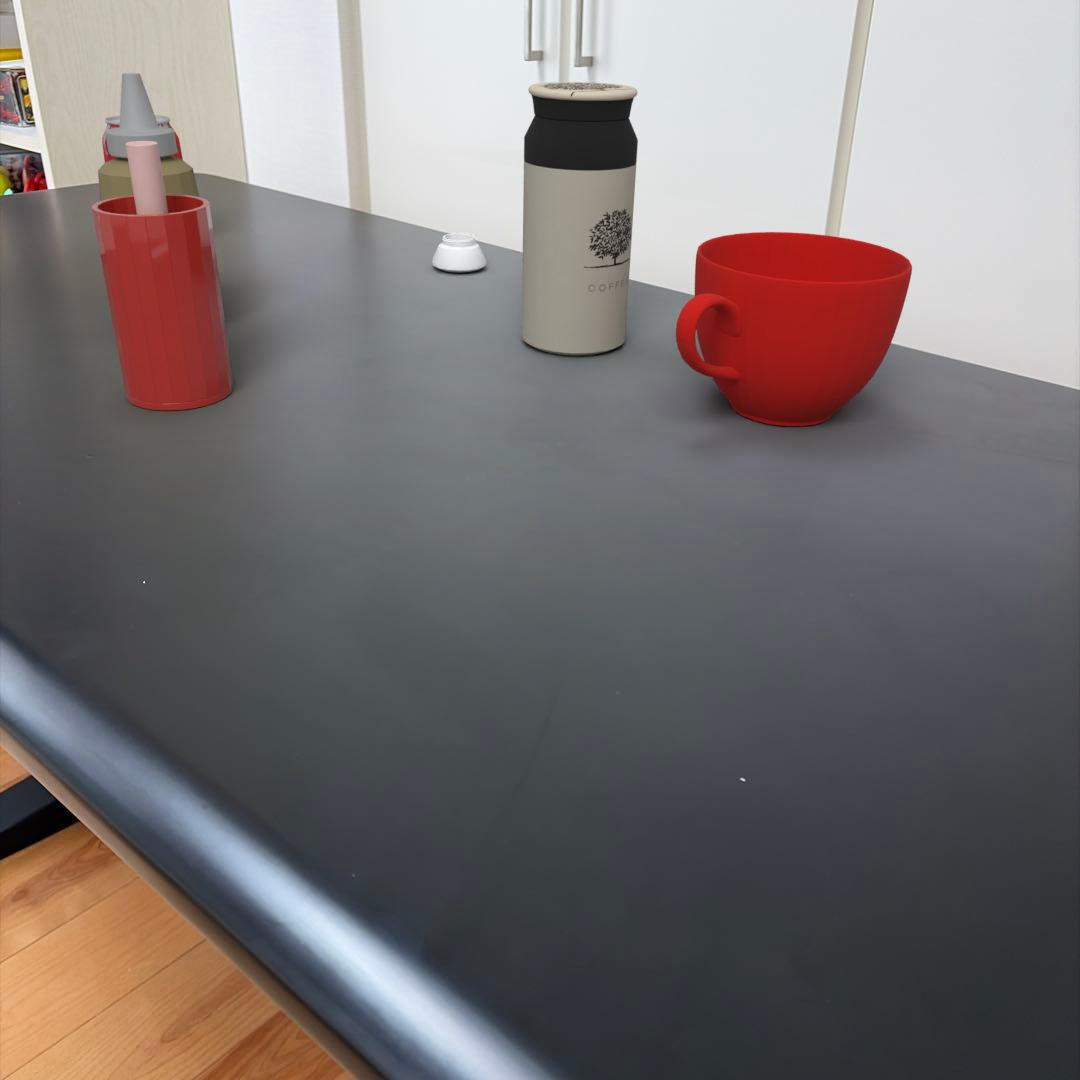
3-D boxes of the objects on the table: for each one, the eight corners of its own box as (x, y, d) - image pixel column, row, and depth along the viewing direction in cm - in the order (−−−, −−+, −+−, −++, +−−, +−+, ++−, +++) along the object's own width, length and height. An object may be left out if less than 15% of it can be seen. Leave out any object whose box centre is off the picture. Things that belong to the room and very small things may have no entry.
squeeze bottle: (111, 346, 75) (61, 79, 67) (118, 315, 82) (74, 69, 74) (225, 339, 78) (191, 79, 69) (223, 309, 84) (192, 68, 76)
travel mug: (504, 332, 80) (505, 82, 72) (592, 321, 84) (603, 80, 75) (551, 364, 74) (559, 94, 66) (644, 349, 78) (663, 91, 69)
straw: (161, 389, 67) (121, 144, 59) (168, 380, 68) (130, 140, 61) (189, 389, 67) (153, 145, 60) (196, 380, 68) (161, 140, 61)
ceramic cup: (598, 413, 66) (606, 257, 61) (766, 362, 76) (784, 223, 71) (755, 483, 57) (779, 307, 53) (922, 415, 67) (955, 261, 62)
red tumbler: (112, 410, 65) (75, 215, 59) (142, 374, 71) (111, 193, 65) (221, 410, 65) (194, 216, 59) (241, 374, 71) (219, 194, 65)
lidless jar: (426, 273, 96) (478, 276, 95) (425, 240, 94) (478, 244, 94) (440, 260, 100) (490, 263, 100) (440, 229, 99) (490, 232, 98)
